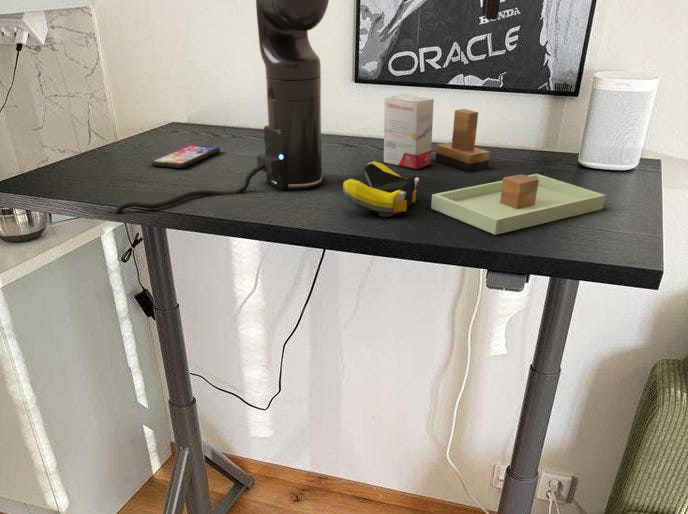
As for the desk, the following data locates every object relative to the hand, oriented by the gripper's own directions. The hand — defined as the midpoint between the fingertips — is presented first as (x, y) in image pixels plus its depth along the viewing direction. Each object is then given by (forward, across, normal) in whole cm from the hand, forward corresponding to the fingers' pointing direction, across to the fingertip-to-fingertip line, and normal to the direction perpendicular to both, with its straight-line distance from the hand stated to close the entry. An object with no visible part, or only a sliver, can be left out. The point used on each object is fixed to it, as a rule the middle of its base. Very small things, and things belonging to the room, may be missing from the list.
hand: (489, 17), depth 133 cm
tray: (+24, +34, +5) cm, 42 cm away
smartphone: (+24, +6, -58) cm, 63 cm away
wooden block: (+23, +34, +5) cm, 42 cm away
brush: (+24, +6, -3) cm, 25 cm away
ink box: (+24, +7, -14) cm, 29 cm away
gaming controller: (+24, +35, -17) cm, 46 cm away
